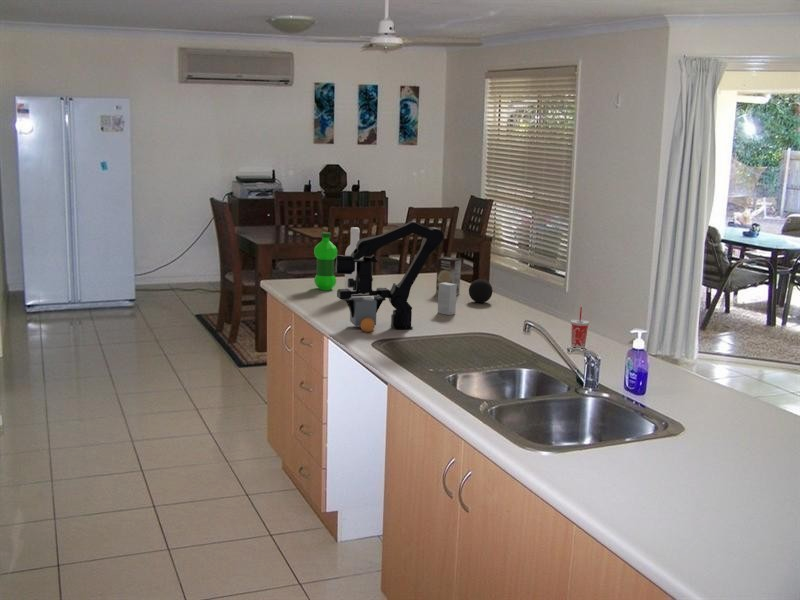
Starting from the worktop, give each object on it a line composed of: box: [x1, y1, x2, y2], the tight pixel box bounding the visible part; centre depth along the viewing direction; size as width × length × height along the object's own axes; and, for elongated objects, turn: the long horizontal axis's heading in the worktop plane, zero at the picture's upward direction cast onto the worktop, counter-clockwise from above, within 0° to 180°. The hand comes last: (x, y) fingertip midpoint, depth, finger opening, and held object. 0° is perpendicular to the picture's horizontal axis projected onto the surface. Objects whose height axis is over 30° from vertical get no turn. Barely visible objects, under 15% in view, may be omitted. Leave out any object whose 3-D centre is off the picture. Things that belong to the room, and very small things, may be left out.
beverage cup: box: [570, 306, 590, 350], centre depth 289 cm, size 6×6×14 cm
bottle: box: [344, 226, 364, 298], centre depth 357 cm, size 8×8×30 cm
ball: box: [360, 318, 376, 333], centre depth 302 cm, size 5×5×5 cm
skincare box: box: [437, 282, 457, 316], centre depth 336 cm, size 6×4×12 cm
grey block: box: [349, 296, 377, 327], centre depth 308 cm, size 8×8×9 cm
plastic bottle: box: [313, 231, 339, 291], centre depth 376 cm, size 10×10×25 cm
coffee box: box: [435, 256, 462, 296], centre depth 375 cm, size 9×6×16 cm
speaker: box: [468, 278, 493, 304], centre depth 359 cm, size 10×10×10 cm
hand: (363, 316), depth 308 cm, fingers closed on grey block, 8 cm apart
